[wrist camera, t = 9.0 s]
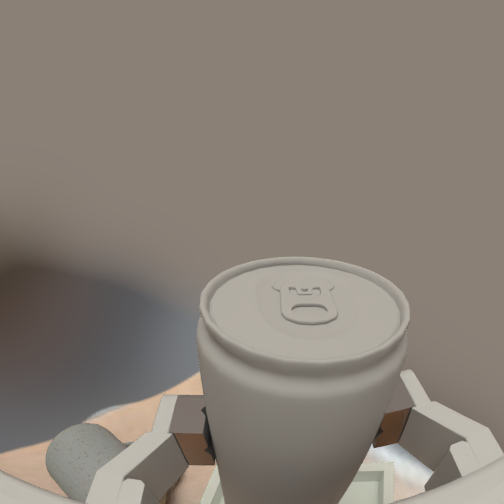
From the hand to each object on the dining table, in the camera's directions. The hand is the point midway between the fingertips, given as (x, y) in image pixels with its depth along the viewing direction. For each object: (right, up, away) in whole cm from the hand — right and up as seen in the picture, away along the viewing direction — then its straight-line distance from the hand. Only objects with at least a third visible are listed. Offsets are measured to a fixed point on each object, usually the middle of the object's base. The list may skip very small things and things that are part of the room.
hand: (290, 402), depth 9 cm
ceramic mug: (-12, -17, +11) cm, 23 cm away
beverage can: (0, -8, +2) cm, 8 cm away
